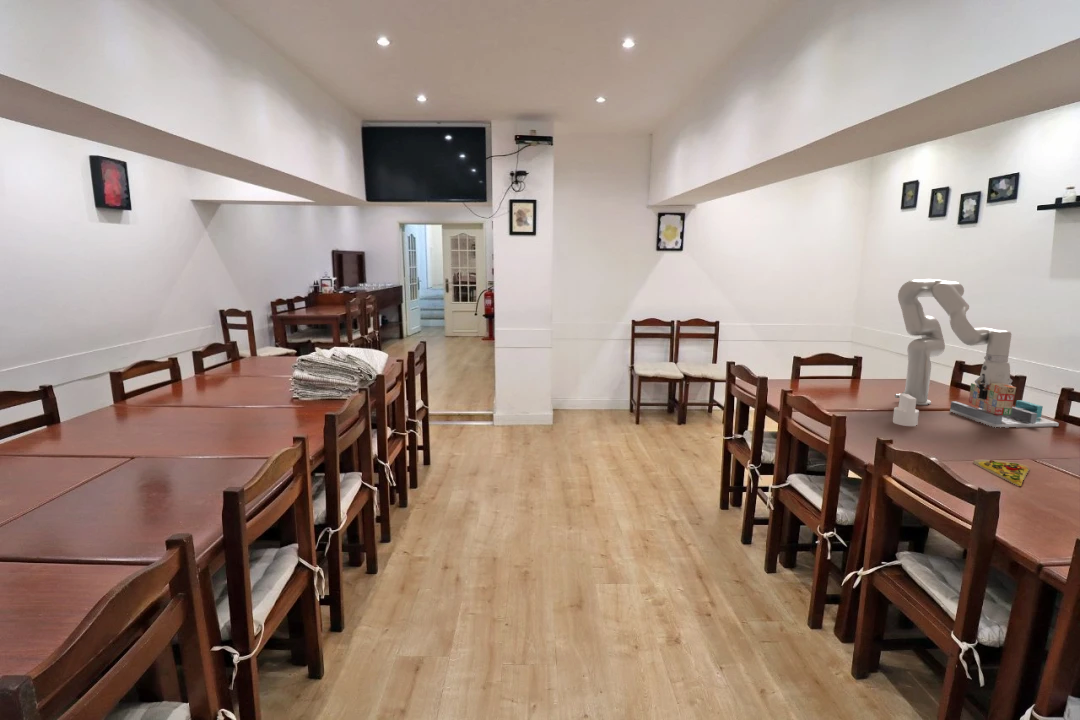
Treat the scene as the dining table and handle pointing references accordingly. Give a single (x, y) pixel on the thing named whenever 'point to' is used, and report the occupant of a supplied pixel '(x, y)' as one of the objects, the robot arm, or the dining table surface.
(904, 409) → the base with upright slab
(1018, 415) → the sliding jaw
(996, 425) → the base
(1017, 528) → the dining table surface
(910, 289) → the robot arm
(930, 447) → the dining table surface
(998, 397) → the stack of blocks
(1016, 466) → the pizza slice
